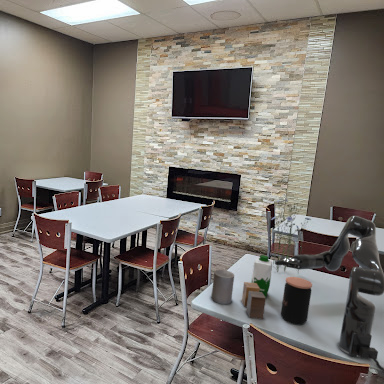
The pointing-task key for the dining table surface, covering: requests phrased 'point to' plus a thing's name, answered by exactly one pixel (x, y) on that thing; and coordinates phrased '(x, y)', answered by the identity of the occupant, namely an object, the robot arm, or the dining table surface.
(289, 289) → the coffee jar
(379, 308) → the dining table surface
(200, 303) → the dining table surface
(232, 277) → the pillar candle
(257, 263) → the milk carton
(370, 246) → the robot arm
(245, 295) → the oak block
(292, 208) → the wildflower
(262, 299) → the walnut block
